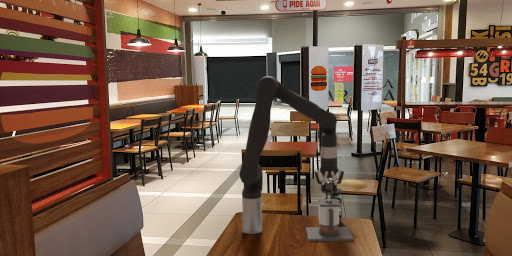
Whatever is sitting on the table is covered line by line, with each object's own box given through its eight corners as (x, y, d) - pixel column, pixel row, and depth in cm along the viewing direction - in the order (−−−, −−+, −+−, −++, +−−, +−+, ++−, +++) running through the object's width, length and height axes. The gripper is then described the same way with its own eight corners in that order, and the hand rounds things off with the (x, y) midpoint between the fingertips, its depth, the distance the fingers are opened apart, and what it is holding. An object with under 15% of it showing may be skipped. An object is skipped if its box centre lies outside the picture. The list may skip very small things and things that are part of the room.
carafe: (320, 239, 181) (320, 207, 180) (317, 228, 194) (317, 199, 192) (341, 238, 181) (342, 207, 179) (337, 228, 193) (337, 198, 191)
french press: (343, 219, 209) (343, 176, 206) (344, 225, 200) (344, 180, 197) (320, 218, 211) (320, 175, 208) (320, 225, 202) (320, 180, 199)
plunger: (324, 215, 185) (324, 183, 184) (323, 212, 190) (323, 181, 188) (334, 215, 185) (334, 183, 183) (332, 212, 190) (332, 181, 188)
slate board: (308, 241, 182) (308, 238, 182) (306, 229, 196) (306, 227, 196) (353, 240, 182) (353, 238, 181) (347, 229, 195) (347, 227, 195)
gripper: (314, 157, 181) (314, 195, 183) (346, 157, 180) (346, 194, 182) (312, 154, 188) (312, 190, 190) (343, 154, 188) (343, 190, 190)
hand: (328, 192), depth 186 cm, fingers closed on plunger, 4 cm apart
